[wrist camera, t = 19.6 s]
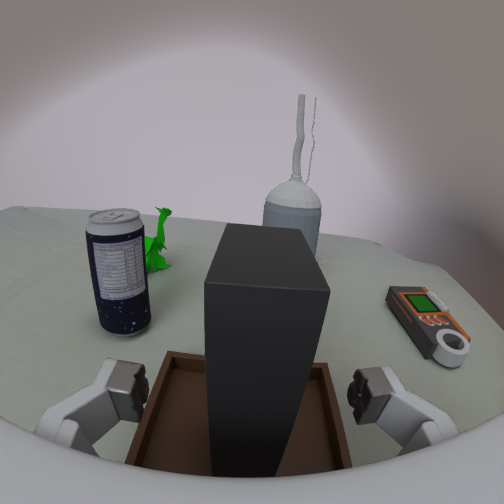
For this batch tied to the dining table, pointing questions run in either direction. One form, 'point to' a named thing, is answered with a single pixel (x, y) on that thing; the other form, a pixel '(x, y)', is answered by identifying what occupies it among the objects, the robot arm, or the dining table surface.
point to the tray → (196, 424)
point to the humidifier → (295, 195)
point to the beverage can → (119, 270)
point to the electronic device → (429, 324)
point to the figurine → (157, 244)
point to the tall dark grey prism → (259, 344)
